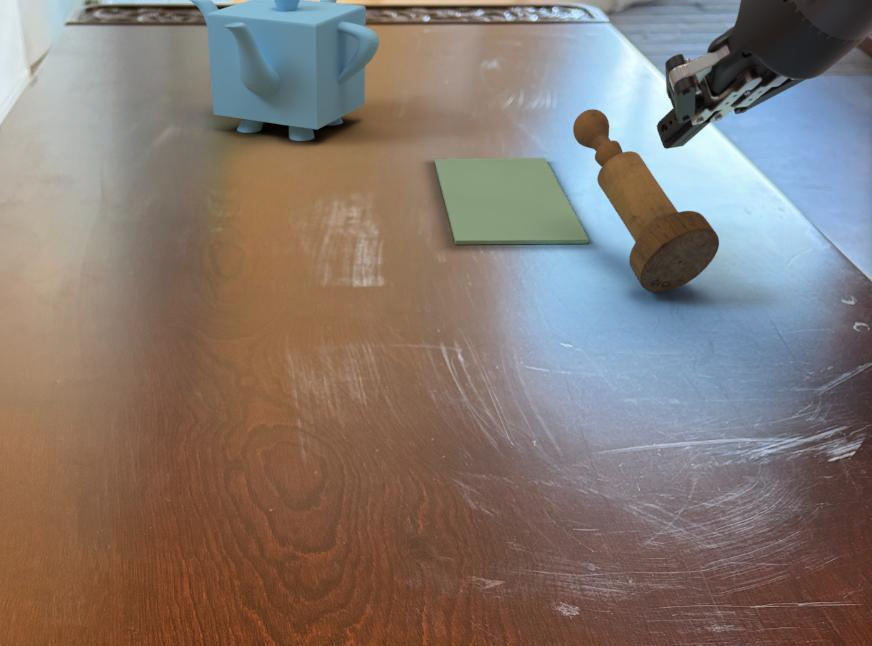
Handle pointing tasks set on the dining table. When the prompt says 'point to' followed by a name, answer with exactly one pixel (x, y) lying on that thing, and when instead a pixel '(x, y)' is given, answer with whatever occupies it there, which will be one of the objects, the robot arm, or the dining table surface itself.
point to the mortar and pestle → (647, 213)
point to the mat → (506, 202)
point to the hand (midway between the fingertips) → (667, 136)
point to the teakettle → (288, 62)
